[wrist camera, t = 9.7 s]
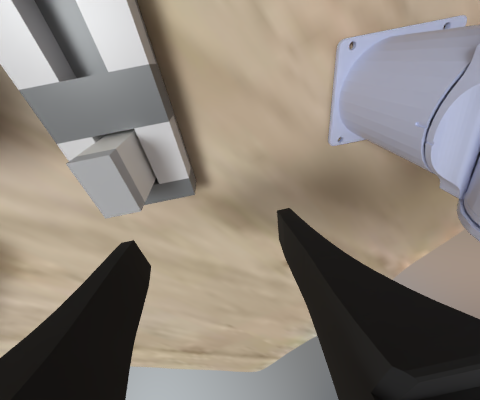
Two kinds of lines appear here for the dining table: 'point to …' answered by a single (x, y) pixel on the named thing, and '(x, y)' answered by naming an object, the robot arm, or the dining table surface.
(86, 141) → the fuse holder
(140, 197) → the block
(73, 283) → the dining table surface
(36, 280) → the dining table surface
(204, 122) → the dining table surface
